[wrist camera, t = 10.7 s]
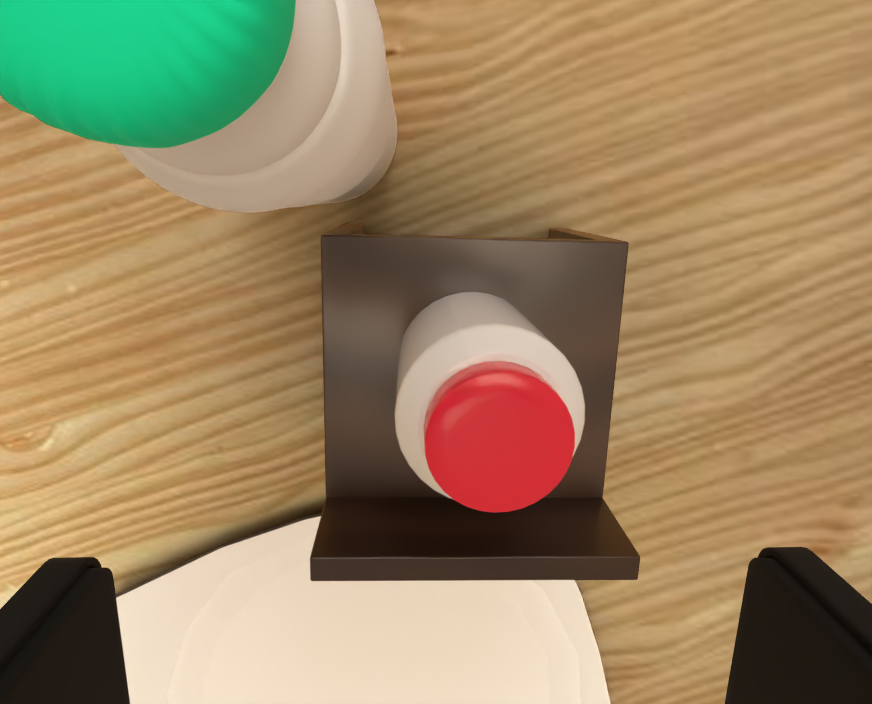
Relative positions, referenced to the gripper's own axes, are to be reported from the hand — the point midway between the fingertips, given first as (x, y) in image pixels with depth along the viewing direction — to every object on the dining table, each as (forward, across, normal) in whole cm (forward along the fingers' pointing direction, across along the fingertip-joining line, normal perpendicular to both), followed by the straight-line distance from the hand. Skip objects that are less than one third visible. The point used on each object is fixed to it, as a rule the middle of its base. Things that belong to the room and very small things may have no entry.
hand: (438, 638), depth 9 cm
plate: (+26, +2, +26) cm, 36 cm away
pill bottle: (+16, -2, 0) cm, 17 cm away
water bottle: (+26, +4, -9) cm, 28 cm away
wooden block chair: (+26, -2, +2) cm, 26 cm away
